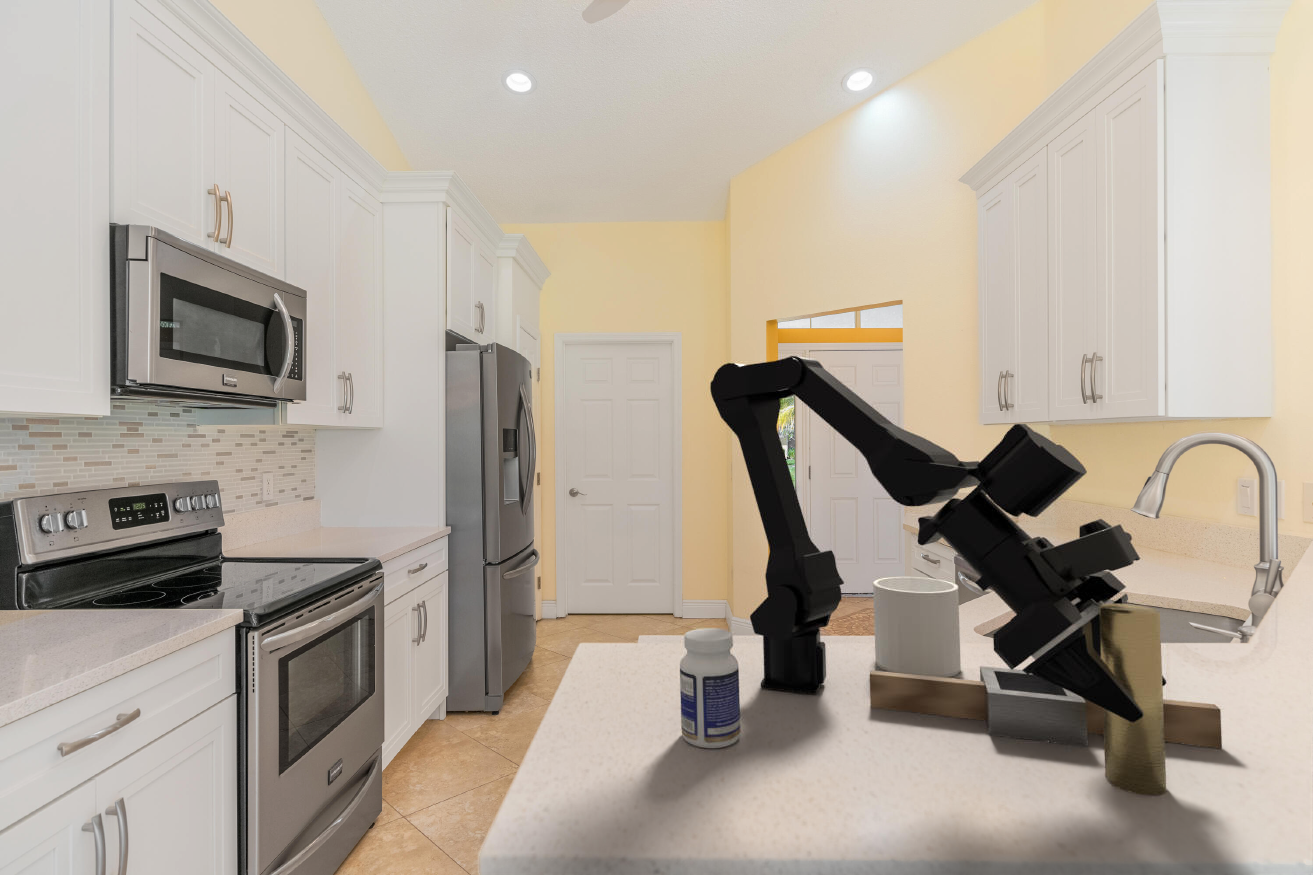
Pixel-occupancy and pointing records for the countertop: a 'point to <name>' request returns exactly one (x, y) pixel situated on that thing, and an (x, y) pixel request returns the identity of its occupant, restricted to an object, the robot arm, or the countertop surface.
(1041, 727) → the gray square planter
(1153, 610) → the hinge pin
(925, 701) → the hinge leaves
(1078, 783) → the countertop surface
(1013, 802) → the countertop surface
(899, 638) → the mug
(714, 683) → the pill bottle
